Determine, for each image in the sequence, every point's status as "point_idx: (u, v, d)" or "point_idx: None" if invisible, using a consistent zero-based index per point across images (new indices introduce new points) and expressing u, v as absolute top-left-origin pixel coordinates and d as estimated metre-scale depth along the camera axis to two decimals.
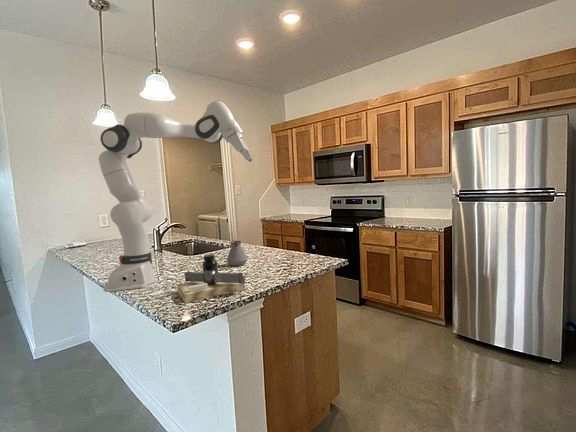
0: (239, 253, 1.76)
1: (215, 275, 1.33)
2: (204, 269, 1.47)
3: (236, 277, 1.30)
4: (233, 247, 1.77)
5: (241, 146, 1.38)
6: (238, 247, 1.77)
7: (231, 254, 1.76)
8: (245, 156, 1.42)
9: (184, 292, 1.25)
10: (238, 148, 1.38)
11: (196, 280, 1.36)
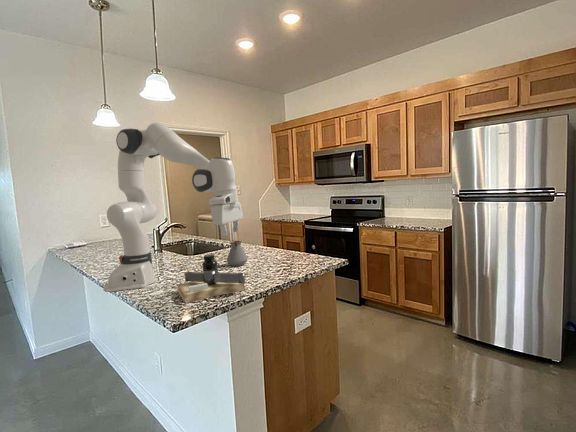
0: (239, 253, 1.76)
1: (215, 275, 1.33)
2: (204, 269, 1.47)
3: (236, 277, 1.30)
4: (233, 247, 1.77)
5: (219, 222, 1.17)
6: (238, 247, 1.77)
7: (231, 254, 1.76)
8: (223, 231, 1.22)
9: (184, 292, 1.25)
10: (215, 223, 1.18)
11: (196, 280, 1.36)
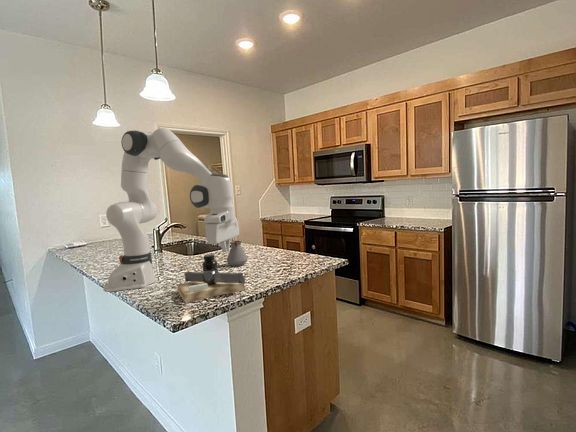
0: (239, 253, 1.76)
1: (215, 275, 1.33)
2: (204, 269, 1.47)
3: (236, 277, 1.30)
4: (233, 247, 1.77)
5: (213, 242, 1.16)
6: (238, 247, 1.77)
7: (231, 254, 1.76)
8: (223, 247, 1.24)
9: (184, 292, 1.25)
10: (209, 242, 1.16)
11: (196, 280, 1.36)
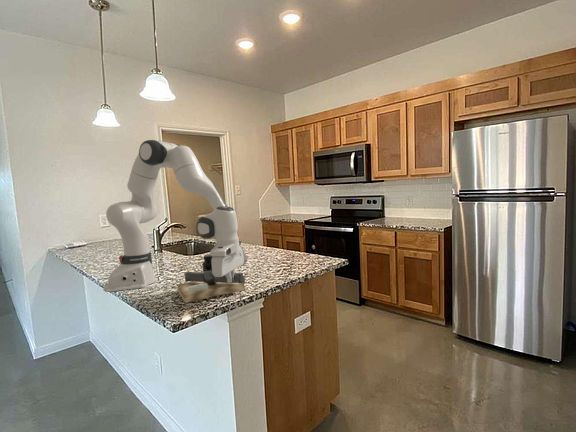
0: None
1: None
2: (204, 269, 1.47)
3: (236, 277, 1.30)
4: None
5: (219, 275, 1.19)
6: None
7: None
8: (228, 278, 1.28)
9: (184, 292, 1.25)
10: (215, 275, 1.20)
11: (196, 280, 1.36)
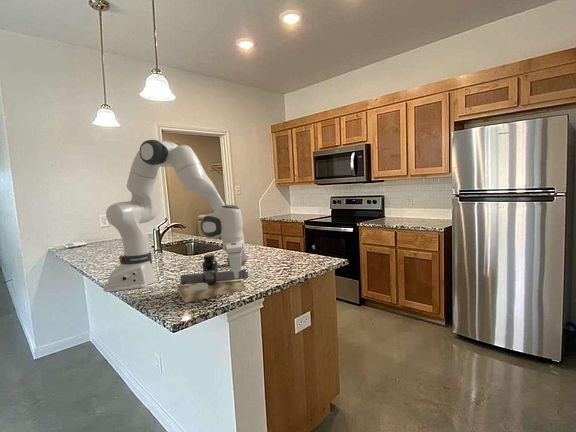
0: None
1: (217, 274, 1.34)
2: (204, 269, 1.47)
3: (240, 274, 1.36)
4: None
5: (238, 270, 1.24)
6: None
7: None
8: (235, 274, 1.33)
9: (184, 292, 1.25)
10: (234, 270, 1.24)
11: (195, 282, 1.34)
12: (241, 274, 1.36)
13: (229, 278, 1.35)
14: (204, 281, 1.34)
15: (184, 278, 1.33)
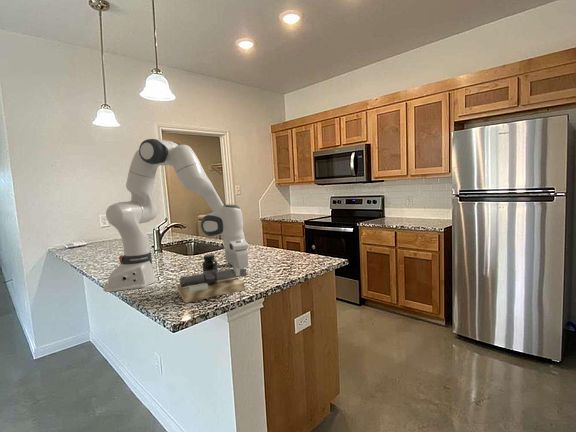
0: None
1: (218, 273, 1.36)
2: (204, 269, 1.47)
3: (240, 271, 1.40)
4: None
5: (246, 266, 1.29)
6: None
7: None
8: (237, 272, 1.36)
9: (184, 292, 1.25)
10: (242, 267, 1.28)
11: (196, 283, 1.32)
12: (240, 271, 1.40)
13: (229, 276, 1.38)
14: (205, 281, 1.33)
15: (185, 280, 1.30)
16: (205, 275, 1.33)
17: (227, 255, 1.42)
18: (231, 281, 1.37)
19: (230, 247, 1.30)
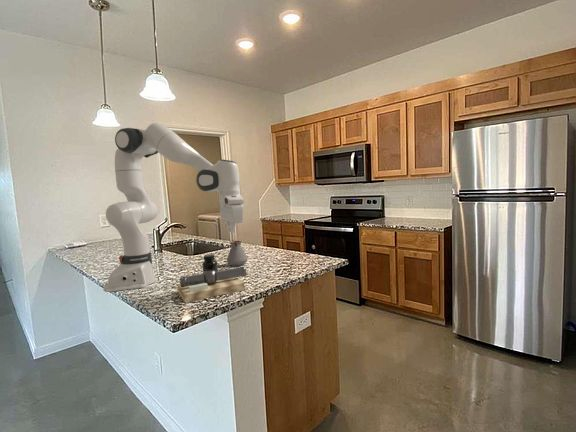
0: (239, 253, 1.76)
1: (218, 273, 1.36)
2: (204, 269, 1.47)
3: (240, 271, 1.40)
4: (233, 247, 1.77)
5: (240, 221, 1.27)
6: (238, 247, 1.77)
7: (231, 254, 1.76)
8: (232, 228, 1.34)
9: (184, 292, 1.25)
10: (237, 221, 1.26)
11: (196, 283, 1.32)
12: (240, 271, 1.40)
13: (229, 276, 1.38)
14: (205, 281, 1.33)
15: (185, 280, 1.30)
16: (205, 275, 1.33)
17: (221, 213, 1.40)
18: (231, 281, 1.37)
19: (225, 201, 1.29)
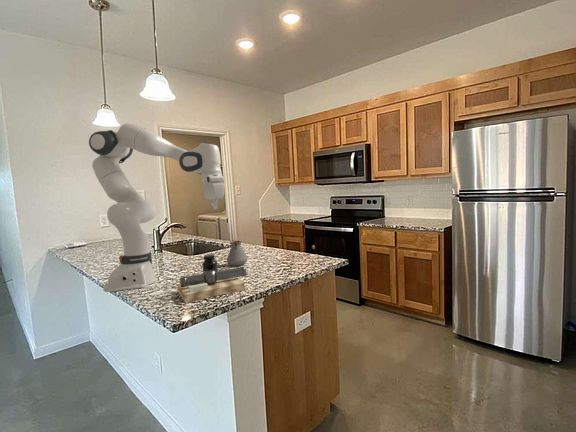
0: (239, 253, 1.76)
1: (218, 273, 1.36)
2: (204, 269, 1.47)
3: (240, 271, 1.40)
4: (233, 247, 1.77)
5: (221, 197, 1.40)
6: (238, 247, 1.77)
7: (231, 254, 1.76)
8: (214, 205, 1.47)
9: (184, 292, 1.25)
10: (218, 197, 1.39)
11: (196, 283, 1.32)
12: (240, 271, 1.40)
13: (229, 276, 1.38)
14: (205, 281, 1.33)
15: (185, 280, 1.30)
16: (205, 275, 1.33)
17: (205, 192, 1.53)
18: (231, 281, 1.37)
19: (207, 180, 1.41)
